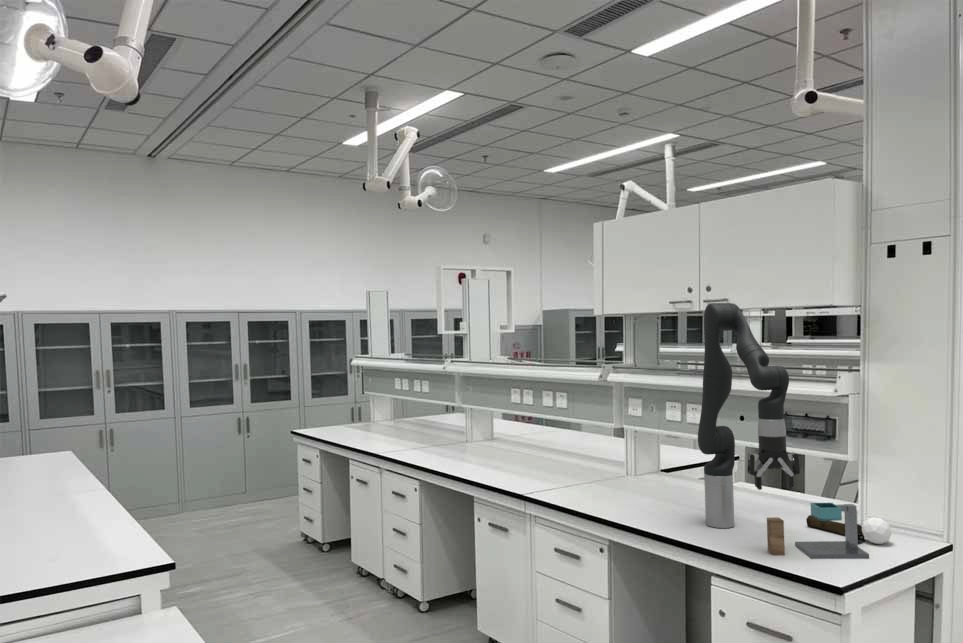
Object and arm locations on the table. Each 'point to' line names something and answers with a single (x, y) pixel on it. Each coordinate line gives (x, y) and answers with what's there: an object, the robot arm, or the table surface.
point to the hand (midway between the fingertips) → (774, 488)
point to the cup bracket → (834, 547)
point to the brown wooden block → (775, 536)
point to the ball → (876, 530)
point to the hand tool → (830, 525)
